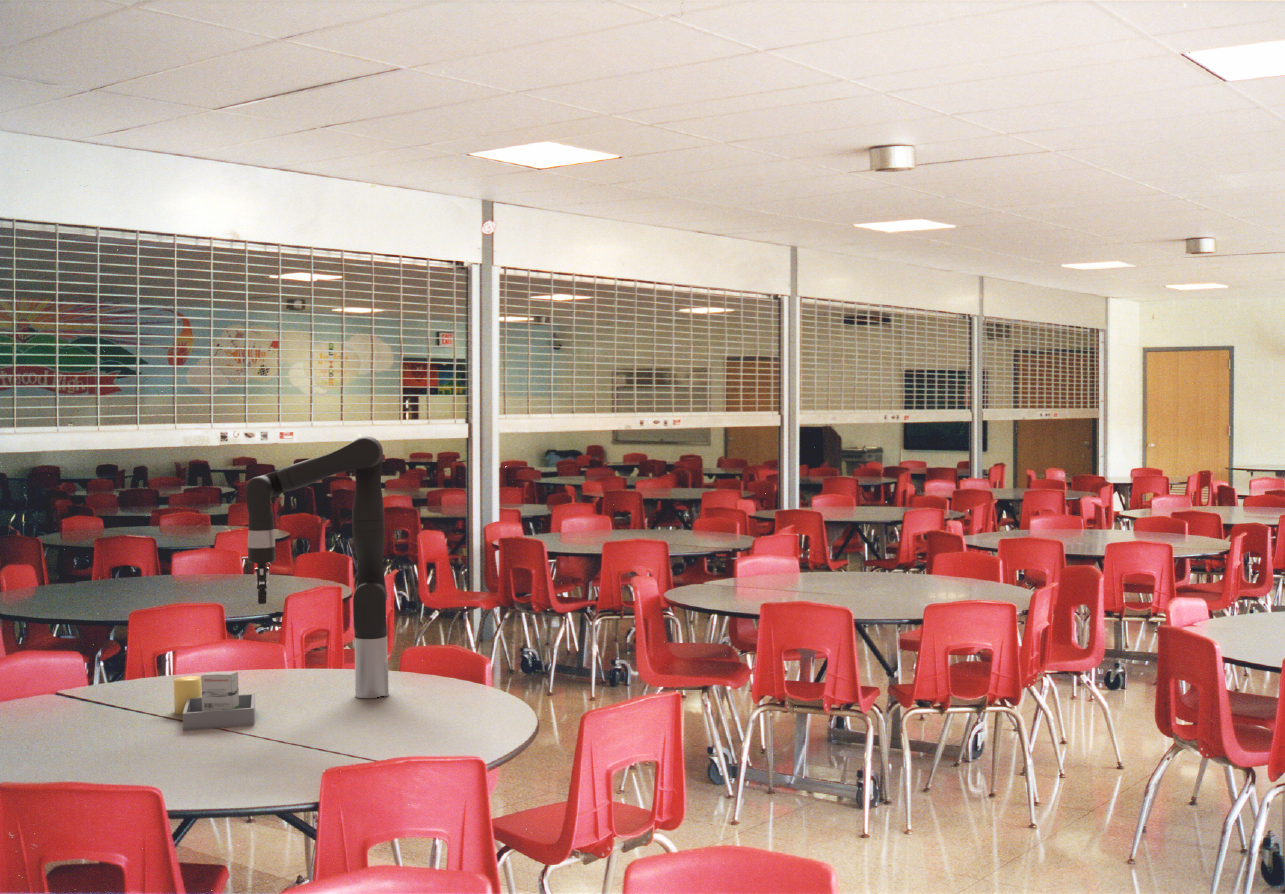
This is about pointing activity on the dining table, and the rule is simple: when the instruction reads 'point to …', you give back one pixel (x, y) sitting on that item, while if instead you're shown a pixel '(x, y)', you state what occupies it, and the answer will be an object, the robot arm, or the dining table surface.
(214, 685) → the ink box
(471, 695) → the dining table surface
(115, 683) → the dining table surface
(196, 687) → the yellow rounded cylinder
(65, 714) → the dining table surface
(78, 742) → the dining table surface
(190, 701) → the bus tub
